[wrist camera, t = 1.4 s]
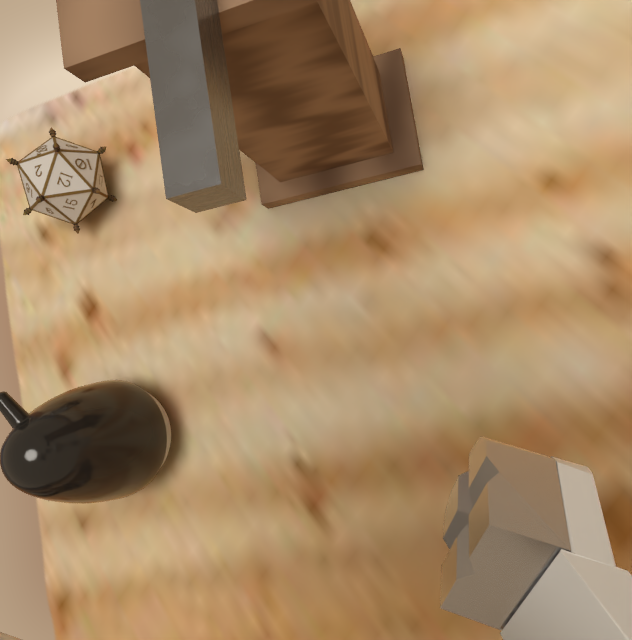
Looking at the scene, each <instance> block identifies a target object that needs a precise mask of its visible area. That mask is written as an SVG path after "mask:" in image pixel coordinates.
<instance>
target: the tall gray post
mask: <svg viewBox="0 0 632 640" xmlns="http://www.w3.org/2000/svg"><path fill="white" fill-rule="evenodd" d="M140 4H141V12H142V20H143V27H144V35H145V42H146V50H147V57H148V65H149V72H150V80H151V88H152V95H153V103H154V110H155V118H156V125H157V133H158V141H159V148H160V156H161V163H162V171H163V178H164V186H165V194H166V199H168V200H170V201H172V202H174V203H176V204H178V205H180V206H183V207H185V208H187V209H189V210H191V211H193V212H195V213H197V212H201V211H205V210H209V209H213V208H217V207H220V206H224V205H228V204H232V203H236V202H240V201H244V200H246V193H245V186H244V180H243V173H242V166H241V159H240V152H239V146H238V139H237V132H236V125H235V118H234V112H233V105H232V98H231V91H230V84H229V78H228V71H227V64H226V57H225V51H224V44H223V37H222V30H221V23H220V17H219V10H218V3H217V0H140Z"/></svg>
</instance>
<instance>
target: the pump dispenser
mask: <svg viewBox="0 0 632 640" xmlns="http://www.w3.org/2000/svg"><path fill="white" fill-rule="evenodd" d="M0 411H1V412H2V414H3V415H4V417H5V418H6V419H7V421H8V422H9V424H10V425H11V426H12V428H13V429H12V431H11V432H10V433H9V435H8V436H7V438H6V440H5V441H4V443H3V445H2V448H1V452H0V465H1V469H2V472H3V474H4V476H5V477H6V479H7V480H8V481H9V482H10V483H11V484H12V485H13V486H14V487H15V488H17V489H18V490H20V491H22V492H24V493H26V494H28V495H31V496H33V497H37V498H40V499H45V500H50V501H56V502H64V503H96V502H104V501H110V500H115V499H120V498H123V497H127V496H129V495H132V494H134V493H136V492H138V491H140V490H142V489H143V488H145V487H146V486H147V485H148V484H149V483H150V482H151V481H152V480H153V479H154V478H155V476H156V475H157V473H158V472H159V470H160V468H161V467H162V465H163V464H164V462H165V460H166V458H167V455H168V452H169V449H170V444H171V427H170V423H169V419H168V416H167V414H166V412H165V410H164V408H163V407H162V405H161V404H160V403H159V402H158V400H157V399H156V398H155V397H153V396H152V395H151V394H150V393H148V392H146V391H145V390H144V389H142V388H141V387H139V386H137V385H135V384H133V383H130V382H127V381H122V380H108V381H101V382H96V383H92V384H88V385H84V386H81V387H78V388H75V389H72V390H69V391H67V392H64V393H62V394H60V395H58V396H56V397H54V398H52V399H50V400H48V401H47V402H45V403H43V404H42V405H40V406H39V407H37V408H36V409H34V410H33V411H32V412H30V413H27V412H26V411H25V410H24V409H23V408H22V407H21V406H20V405H19V404H18V403H17V402H16V401H15V400H14V399H13V398H12V397H11V396H10V395H9V394H8V393H7V392H0Z"/></svg>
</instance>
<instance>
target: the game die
mask: <svg viewBox="0 0 632 640" xmlns="http://www.w3.org/2000/svg"><path fill="white" fill-rule="evenodd" d="M55 132H56V131H54V130H53V129H52V128H51V129H50V131H49V133H50V135H51V137H52V138H50V139H49V140H47V141H46V142H45V143H43V144H42V145H41V146H39V147H38V148H36V149H35V150H34V151H32V152H31V153H30V154H28V155H27V156H25V157H24V158H23V159H21V160H20V161H16V159H15V160H14V159H13V158H12V159H6V160H7V161H8V162H9V163H10V164H13V165H17V166H18V170H19V173H20V177H21V180H22V183H23V187H24V190H25V194H26V197H27V201H28V204H29V208H26V210H24V214H23V215H27V214H28V215H29V213H31V211H32V210H34V211H36V212H39V213H42V214H45V215H48V216H51V217H54V218H57V219H60V220H63V221H66V222H68V223H71V224H74V227H73V228H74V230H75V231H76V232H77V233H79V230H80V228H79V227H80V226H78V223H79V222H80V221H81V220H82V219H84V218H85V217H86V216H87V215H88V214H90V213H91V212H92V211H93V210H94V209H95V208H97V207H98V206H99V205H100V204H101V203H103V202H104V201H105V200H106V199H109V200H111V201H116V200H117V199H116V198H115V197H114V196H112V195H111V196H110V195H108V191H107V186H106V181H105V176H104V172H103V167H102V162H101V157H100V154H102V153H103V152H105V150H106V147H101V148H100V149H99V150H98V151H94V150H91V149H89V148H86V147H83V146H80V145H77V144H74V143H72V142H69V141H66V140H63V139H60V138H57V137H55V135H56V133H55Z"/></svg>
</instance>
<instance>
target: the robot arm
mask: <svg viewBox="0 0 632 640" xmlns="http://www.w3.org/2000/svg"><path fill="white" fill-rule="evenodd" d="M443 539H444V541H445V542H446V544H447V546H448V547H449V549H450V550H449V552H448V554H447V556H446V558H445V560H444V562H443V564H442V569H441V597H440V608H441V609H444V610H446V611H449V612H452V613H455V614H458V615H460V616H463V617H466V618H469V619H471V620H474V621H477V622H480V623H482V624H485V625H488V626H491V627H493V628H496V629H499V630H502V631H501V633H500V634H501V636H502V638H503V640H632V575H631V574H630V573H629V572H628V571H627V570H624V569H621V568H618V567H616V564H615V560H614V556H613V552H612V548H611V544H610V540H609V536H608V532H607V528H606V525H605V521H604V517H603V513H602V509H601V505H600V501H599V497H598V493H597V489H596V485H595V481H594V477H593V473H592V472H591V470H590V469H589V468H588V467H587V466H584V465H580V464H577V463H573V462H569V461H566V460H562V459H559V458H555V457H548V456H546V455H542V454H539V453H536V452H532V451H529V450H526V449H522V448H519V447H516V446H512V445H509V444H506V443H503V442H499V441H496V440H493V439H489V438H486V437H483V436H481V437H480V438H479V439H478V440H477V441H476V443H475V444H474V446H473V448H472V450H471V452H470V454H469V471H468V472H466V473H463V474H461V475H459V476H458V478H457V480H456V482H455V484H454V487H453V489H452V491H451V494H450V497H449V501H448V504H447V507H446V512H445V518H444V528H443ZM0 640H21V639H18V638H16V637H13V636H10V635H7V634H4V633H2V632H0Z"/></svg>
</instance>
